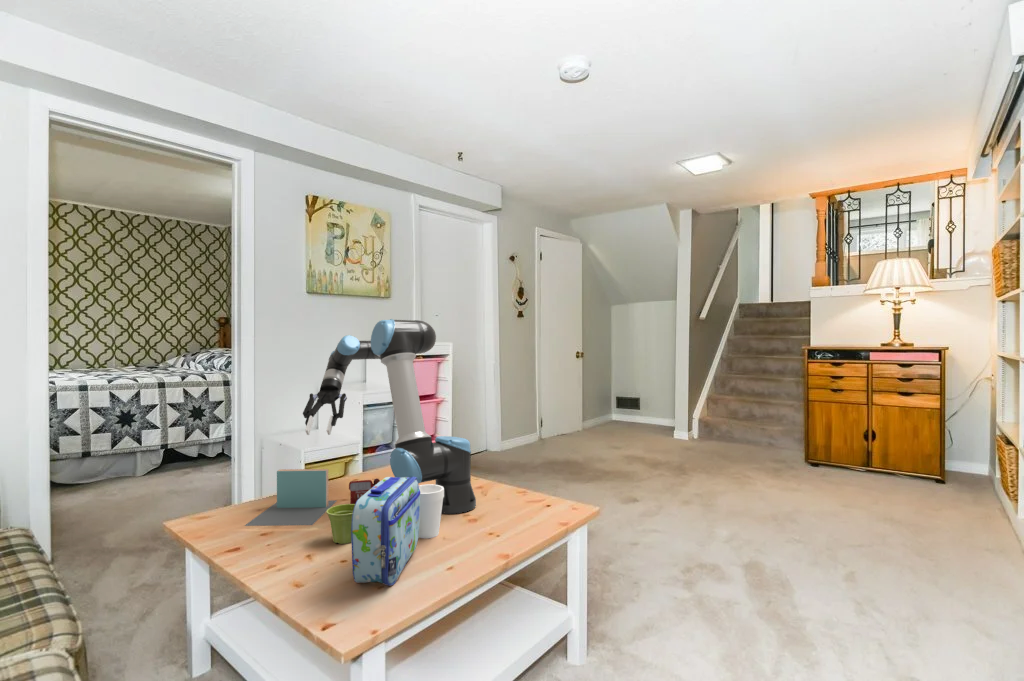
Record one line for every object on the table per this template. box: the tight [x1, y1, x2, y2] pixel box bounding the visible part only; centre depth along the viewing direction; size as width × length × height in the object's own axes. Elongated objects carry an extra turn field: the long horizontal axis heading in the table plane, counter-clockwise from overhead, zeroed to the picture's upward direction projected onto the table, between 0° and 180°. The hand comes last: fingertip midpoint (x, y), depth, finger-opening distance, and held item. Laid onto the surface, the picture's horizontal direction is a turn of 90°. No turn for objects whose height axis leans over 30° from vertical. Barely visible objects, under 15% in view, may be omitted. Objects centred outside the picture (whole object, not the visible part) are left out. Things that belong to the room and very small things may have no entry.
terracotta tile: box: [276, 468, 329, 508], centre depth 174 cm, size 2×16×12 cm, turn 91°
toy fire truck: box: [348, 478, 381, 504], centre depth 171 cm, size 7×12×10 cm, turn 109°
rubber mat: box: [244, 499, 338, 527], centre depth 168 cm, size 24×20×1 cm
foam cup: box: [418, 483, 444, 539], centre depth 150 cm, size 10×9×13 cm
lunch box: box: [350, 476, 420, 587], centre depth 129 cm, size 26×11×21 cm, turn 174°
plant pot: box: [325, 503, 355, 545], centre depth 146 cm, size 9×9×9 cm
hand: (317, 432), depth 188 cm, fingers open, 7 cm apart
